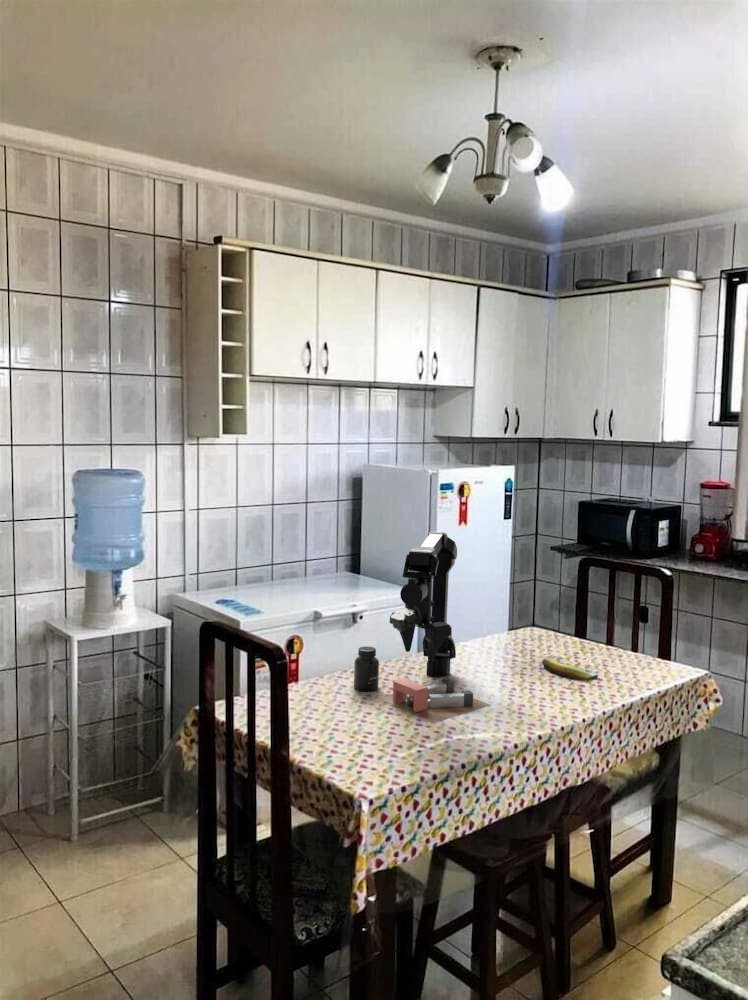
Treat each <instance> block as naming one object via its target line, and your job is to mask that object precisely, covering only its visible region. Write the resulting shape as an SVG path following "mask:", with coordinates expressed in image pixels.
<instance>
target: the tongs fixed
mask: <svg viewBox="0 0 748 1000" xmlns="http://www.w3.org/2000/svg"><path fill="white" fill-rule="evenodd" d="M440 681H441V682H436V683H435V684H433V685H429V686H426V687H428V695H431V694H454V691H455V680H454V679H451V678H448V677H447V678H444V679H441V680H440ZM407 703H408V704H409V706H410V707H414V697H413V696H410V695H409V696H407Z"/></svg>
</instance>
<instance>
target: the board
mask: <svg viewBox="0 0 748 1000" xmlns="http://www.w3.org/2000/svg"><path fill="white" fill-rule="evenodd" d="M433 684H436V683H434V682H431V683H429V684H423V686H429V685H433ZM455 693H460V692H458V691H455V690H454V694H455ZM407 696H409V695H408V694H407ZM376 700H379V701H381V702H384V703H386V704H388V705H391V706H393V707H395V708H398V709H400V710H403V711H404V712H407V713H410V714H411V715H413V716H416V717H419V718H421V719H423V720H425V721H428V722H430V723H432V724H435V723H438V722H442V721H445V720H447V719H451V718H455V717H458V716H461V715H464V714H467V713H472V712H474V711H476V710H480V709H485V708H486V707H489V706H490V707H491V704H489V703H488V702H485V701H482V700H479V699H477V698H475V697H473V706H467V707H441V708H430V707H428V708H427V709H425V710H421V711H418V712H415V711H413V707H410V706H409V704H408V703H407V700H405V701H401V702H398V703H394V702H393V693H391V694H387V695H384V696H380V697H377V698H376Z"/></svg>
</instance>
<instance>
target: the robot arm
mask: <svg viewBox="0 0 748 1000" xmlns="http://www.w3.org/2000/svg"><path fill="white" fill-rule="evenodd" d="M457 556H458V547H457V544H456V542H455V541H454V540H453V539H451V538H450V537H448V535H447V532H443V531H430V532H428V533H427V537H426V538H425V540H424V541H423V543H422V544H421V545H420V546H418V547H417V546H416V547H413V548H411V549H410V550H409V552H408V553H406V557H405V560H404V568H403V571H402V578H406V579H407V580H408V581H407V583H406V584H404V585H403V586H402V588H401V590H400V592H399V596H400V599H401V601H402V602H403V603H404V604H405V606H404V608H401V609H399V610H398V611H393V612H392V613H391V614H390V615H389V624H391V625H392V627H393V629H396V630H397V631H398V632H399V634H400V636H401V639H402V643H403V646H404V650H405V652H406V653H409V652H411V650H412V645H413V640H414V635H415V634H414V633H415V630H416V627H417V628H420V629H423V630H424V635H423V638H422V652H423V657H427V662H426V676H428V677H429V678H430V677H431V678H445V677H447V676H449V674H451V660H453V659H454V658H455V659H456V656H457V655H456V652H457V649H456V644H455V641H454V639H453V636H452V635H453V633H452V628H453V627H452V626H451V624H448V622H447V621H448V620H447V619H448V617H447V616H448V601H449V600H448V599H449V598H448V597H449V596H448V595H449V575H450V571H451V570H452V568H454V565H455V563H456V560H457V558H458V557H457Z"/></svg>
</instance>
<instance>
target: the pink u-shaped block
mask: <svg viewBox="0 0 748 1000" xmlns="http://www.w3.org/2000/svg"><path fill="white" fill-rule="evenodd" d="M392 683H393V685H392V694H393V702H394V703H398V702H401V701H405V700H407V694H408V695H410V696H413V697H414V707H413V711H415V712H418V711H421V710H425V709H427V708H428V687H426V686H424V684H421V683H418V682H416V681H413V680H411V679H407V678H406V677H403V678H401V679H396V680H393V681H392Z"/></svg>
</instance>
